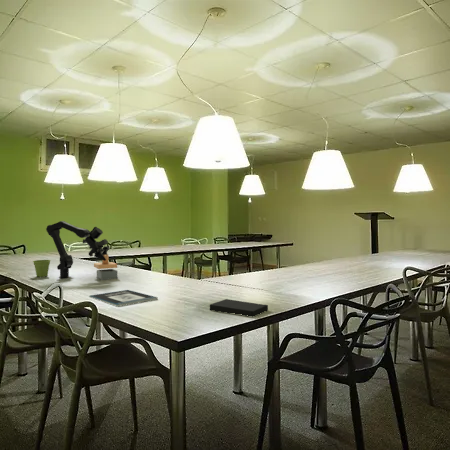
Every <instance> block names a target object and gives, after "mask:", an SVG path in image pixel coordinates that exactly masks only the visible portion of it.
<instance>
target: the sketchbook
mask: <svg viewBox="0 0 450 450" xmlns="http://www.w3.org/2000/svg"><path fill="white" fill-rule="evenodd" d="M89 298H92V299H94V298H95V300H97V299H98V301H100V300H101V301H100V302H103V301H104V302H103V303H106V302H107V303H106V304H108V303H110V304H109V305H111V304H113V305H112V306H114V305H116V306H115V307H117V306H118V307H120V305H122V306H121V307H124V306H125V305H126V304H127V305H126V306H128V304H130V305H135V304H137V303H138V302H141V303H147V302H148V301H149V302H152V301H157V300H158V297H157V296H155V295H154V296H153V295H149V294H145V293H141V292H138V291H134V290H130V289H124V290H123V289H122V290H117V291H110V292H103V293H96V294H92V295H89ZM150 300H151V301H150ZM144 301H145V302H144ZM133 303H134V304H133ZM138 304H139V303H138ZM123 305H124V306H123Z"/></svg>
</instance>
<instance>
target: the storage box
mask: <svg viewBox="0 0 450 450" xmlns="http://www.w3.org/2000/svg"><path fill="white" fill-rule="evenodd" d="M96 278H97V279H99V280H102V281H103V280H112V279H113V280H114V279H118V270H117V269H115V268H106V269H96Z"/></svg>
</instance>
